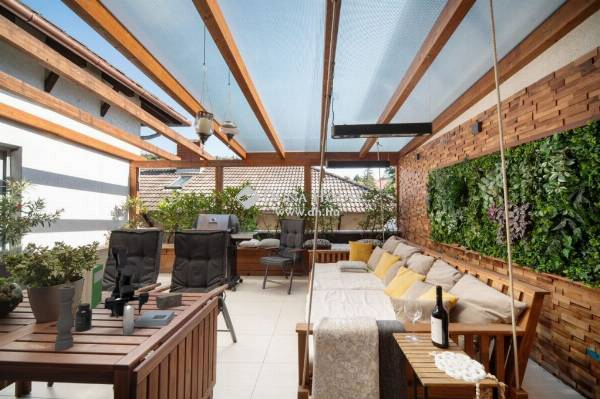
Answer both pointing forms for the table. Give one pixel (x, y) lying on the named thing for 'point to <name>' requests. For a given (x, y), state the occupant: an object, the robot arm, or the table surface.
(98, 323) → the table surface
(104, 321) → the table surface
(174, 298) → the stone block
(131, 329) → the polished metal rod
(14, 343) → the table surface
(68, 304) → the candle holder
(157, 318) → the jig plate
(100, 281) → the hardback book
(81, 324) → the supplement bottle
